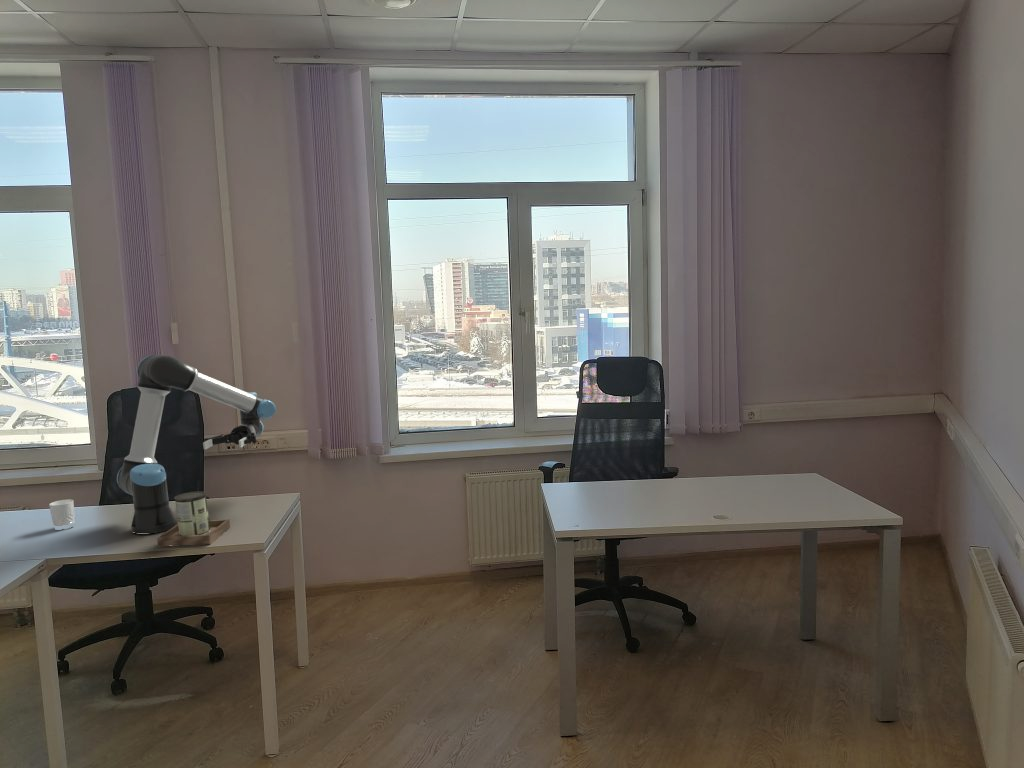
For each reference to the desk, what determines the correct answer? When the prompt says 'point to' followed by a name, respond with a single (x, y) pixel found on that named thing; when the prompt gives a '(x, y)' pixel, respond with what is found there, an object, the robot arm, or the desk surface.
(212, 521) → the holder tray
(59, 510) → the white cup
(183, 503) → the coffee can
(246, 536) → the desk surface
